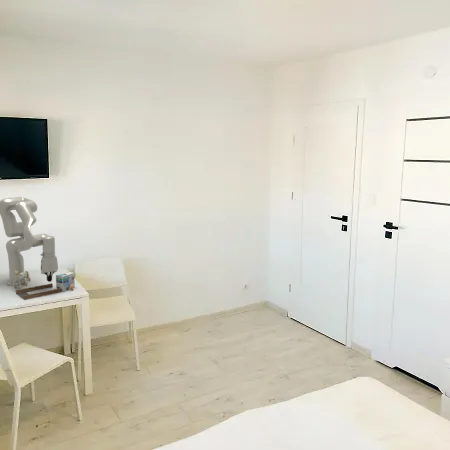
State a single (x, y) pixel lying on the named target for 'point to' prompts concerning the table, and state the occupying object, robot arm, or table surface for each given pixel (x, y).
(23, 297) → the mat
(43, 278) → the table surface
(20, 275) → the unicorn figurine
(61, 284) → the light bulb box
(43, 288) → the guide channel
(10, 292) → the table surface
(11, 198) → the robot arm
